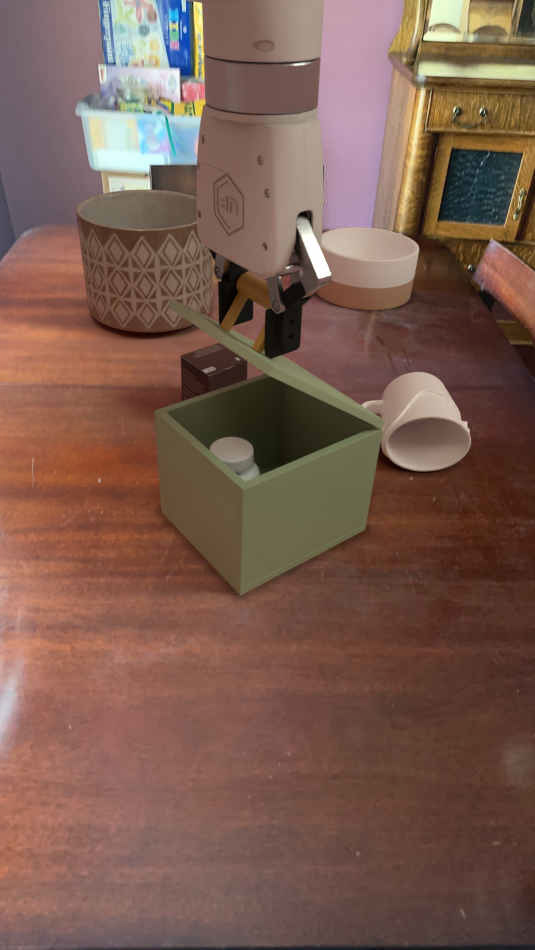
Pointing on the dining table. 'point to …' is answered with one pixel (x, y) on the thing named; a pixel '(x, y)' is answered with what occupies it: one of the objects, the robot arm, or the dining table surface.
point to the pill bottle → (236, 456)
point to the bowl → (368, 267)
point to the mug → (420, 423)
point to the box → (210, 370)
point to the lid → (256, 356)
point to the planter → (143, 259)
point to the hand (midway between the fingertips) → (258, 335)
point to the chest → (264, 477)
